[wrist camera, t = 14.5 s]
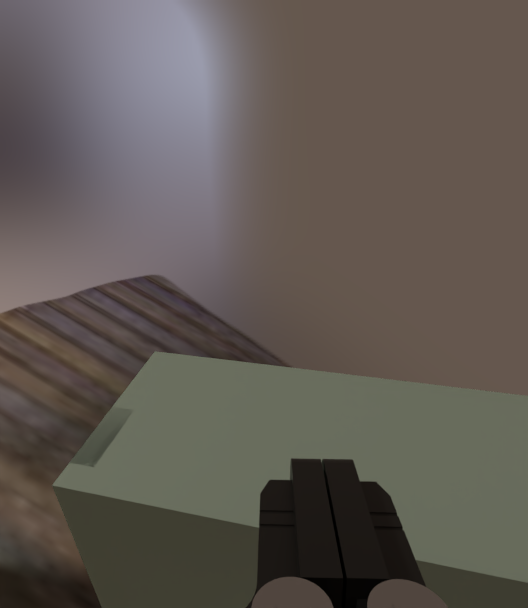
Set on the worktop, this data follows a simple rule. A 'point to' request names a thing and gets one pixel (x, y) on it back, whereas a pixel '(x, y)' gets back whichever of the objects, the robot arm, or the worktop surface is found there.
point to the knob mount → (276, 466)
